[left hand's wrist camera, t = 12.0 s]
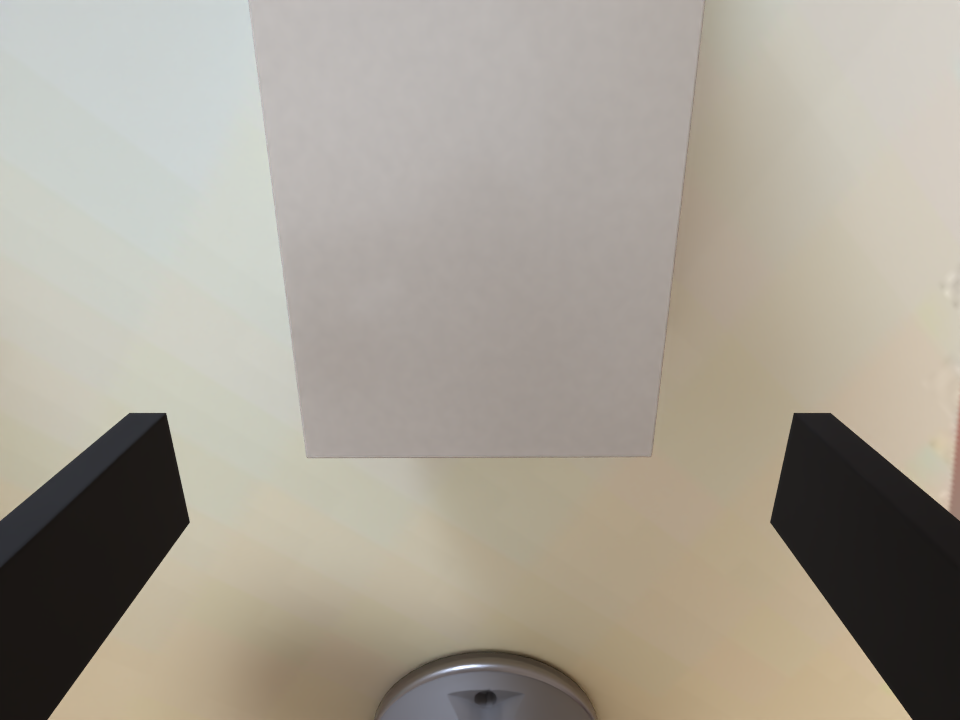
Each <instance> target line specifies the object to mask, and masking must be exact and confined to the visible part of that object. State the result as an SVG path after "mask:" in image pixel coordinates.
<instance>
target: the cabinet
mask: <svg viewBox="0 0 960 720" xmlns="http://www.w3.org/2000/svg"><path fill="white" fill-rule="evenodd" d="M248 2H249V10H250V18H251V26H252V33H253V41H254V49H255V57H256V65H257V73H258V81H259V88H260V96H261V104H262V112H263V120H264V128H265V135H266V143H267V151H268V159H269V167H270V175H271V183H272V190H273V198H274V206H275V214H276V222H277V230H278V237H279V245H280V253H281V261H282V269H283V277H284V285H285V292H286V300H287V308H288V316H289V324H290V332H291V339H292V347H293V355H294V363H295V371H296V379H297V387H298V394H299V402H300V410H301V418H302V426H303V434H304V441H305V449H306V456H307V458H494V457H651V456H652V449H653V441H654V432H655V424H656V415H657V407H658V398H659V390H660V381H661V373H662V364H663V356H664V347H665V339H666V330H667V322H668V313H669V305H670V296H671V288H672V279H673V271H674V262H675V254H676V245H677V237H678V228H679V220H680V211H681V203H682V194H683V185H684V177H685V168H686V160H687V151H688V143H689V134H690V126H691V117H692V109H693V100H694V92H695V83H696V75H697V66H698V58H699V49H700V41H701V32H702V24H703V15H704V7H705V0H248Z"/></svg>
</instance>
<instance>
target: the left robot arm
mask: <svg viewBox="0 0 960 720" xmlns="http://www.w3.org/2000/svg"><path fill="white" fill-rule="evenodd" d="M189 523H190V521H189V516H188V512H187V507H186V503H185V498H184V493H183V489H182V484H181V480H180V475H179V470H178V466H177V461H176V457H175V452H174V447H173V443H172V438H171V434H170V429H169V424H168V420H167V415H166V413H129V414H128V415H127V416H125V417H124V418H123V419H122V420H121V421H119V422H118V423H117V424H116V425H115V426H113V427H112V428H111V429H110V430H109V431H107V432H106V433H105V434H104V435H103V436H101V437H100V438H99V439H98V440H97V441H95V442H94V443H93V444H92V445H91V446H90V447H88V448H87V449H86V450H85V451H84V452H82V453H81V454H80V455H79V456H78V457H76V458H75V459H74V460H73V461H72V462H70V463H69V464H68V465H67V466H66V467H64V468H63V469H62V470H61V471H60V472H58V473H57V474H56V475H55V476H54V477H52V478H51V479H50V480H49V481H48V482H46V483H45V484H44V485H43V486H42V487H40V488H39V489H38V490H37V491H36V492H34V493H33V494H32V495H31V496H30V497H28V498H27V499H26V500H25V501H24V502H23V503H21V504H20V505H19V506H18V507H17V508H15V509H14V510H13V511H12V512H11V513H9V514H8V515H7V516H6V517H5V518H3V519H2V520H1V521H0V720H48V718H49V717H50V715H51V714H52V713H53V711H54V710H55V708H56V707H57V706H58V704H59V703H60V701H61V700H62V699H63V697H64V696H65V695H66V693H67V692H68V690H69V689H70V688H71V686H72V685H73V683H74V682H75V681H76V679H77V678H78V677H79V675H80V674H81V672H82V671H83V670H84V668H85V667H86V665H87V664H88V663H89V661H90V660H91V659H92V657H93V656H94V654H95V653H96V652H97V650H98V649H99V647H100V646H101V645H102V643H103V642H104V641H105V639H106V638H107V636H108V635H109V634H110V632H111V631H112V629H113V628H114V627H115V625H116V624H117V622H118V621H119V620H120V618H121V617H122V616H123V614H124V613H125V611H126V610H127V609H128V607H129V606H130V604H131V603H132V602H133V600H134V599H135V598H136V596H137V595H138V593H139V592H140V591H141V589H142V588H143V586H144V585H145V584H146V582H147V581H148V580H149V578H150V577H151V575H152V574H153V573H154V571H155V570H156V568H157V567H158V566H159V564H160V563H161V562H162V560H163V559H164V557H165V556H166V555H167V553H168V552H169V550H170V549H171V548H172V546H173V545H174V543H175V542H176V541H177V539H178V538H179V537H180V535H181V534H182V532H183V531H184V530H185V528H186V527H187V525H188V524H189ZM770 523H771V524H772V525H773V527H774V528H775V530H776V531H777V532H778V534H779V535H780V537H781V538H782V539H783V541H784V542H785V543H786V545H787V546H788V548H789V549H790V550H791V552H792V553H793V555H794V556H795V557H796V559H797V560H798V562H799V563H800V564H801V566H802V567H803V568H804V570H805V571H806V573H807V574H808V575H809V577H810V578H811V580H812V581H813V582H814V584H815V585H816V586H817V588H818V589H819V591H820V592H821V593H822V595H823V596H824V598H825V599H826V600H827V602H828V603H829V604H830V606H831V607H832V609H833V610H834V611H835V613H836V614H837V616H838V617H839V618H840V620H841V621H842V622H843V624H844V625H845V627H846V628H847V629H848V631H849V632H850V634H851V635H852V636H853V638H854V639H855V641H856V642H857V643H858V645H859V646H860V647H861V649H862V650H863V652H864V653H865V654H866V656H867V657H868V659H869V660H870V661H871V663H872V664H873V665H874V667H875V668H876V670H877V671H878V672H879V674H880V675H881V677H882V678H883V679H884V681H885V682H886V683H887V685H888V686H889V688H890V689H891V690H892V692H893V693H894V695H895V696H896V697H897V699H898V700H899V701H900V703H901V704H902V706H903V707H904V708H905V710H906V711H907V713H908V714H909V715H910V717H911V718H912V720H960V521H959V520H958V519H957V518H955V517H954V516H953V515H952V514H951V513H949V512H948V511H947V510H946V509H945V508H943V507H942V506H941V505H940V504H939V503H937V502H936V501H935V500H934V499H933V498H932V497H930V496H929V495H928V494H927V493H926V492H924V491H923V490H922V489H921V488H920V487H918V486H917V485H916V484H915V483H914V482H912V481H911V480H910V479H909V478H908V477H906V476H905V475H904V474H903V473H902V472H900V471H899V470H898V469H897V468H896V467H894V466H893V465H892V464H891V463H890V462H888V461H887V460H886V459H885V458H884V457H882V456H881V455H880V454H879V453H878V452H876V451H875V450H874V449H873V448H872V447H870V446H869V445H868V444H867V443H866V442H865V441H863V440H862V439H861V438H860V437H859V436H857V435H856V434H855V433H854V432H853V431H851V430H850V429H849V428H848V427H847V426H845V425H844V424H843V423H842V422H841V421H839V420H838V419H837V418H836V417H835V416H833V415H832V414H831V413H794V415H793V420H792V424H791V429H790V434H789V438H788V443H787V447H786V452H785V457H784V461H783V466H782V470H781V475H780V480H779V484H778V489H777V493H776V498H775V503H774V507H773V512H772V516H771V521H770ZM374 720H597V717H596V713H595V711H594V708H593V706H592V704H591V702H590V700H589V699H588V697H587V696H586V694H585V693H584V692H583V691H582V689H581V688H580V687H579V686H578V685H577V684H576V683H575V682H573V681H572V680H571V679H570V678H569V677H567V676H566V675H564V674H563V673H561V672H560V671H558V670H556V669H554V668H553V667H551V666H548V665H546V664H544V663H542V662H539V661H536V660H533V659H530V658H526V657H522V656H518V655H512V654H505V653H493V652H479V653H467V654H460V655H454V656H450V657H446V658H442V659H439V660H436V661H433V662H430V663H428V664H426V665H424V666H421V667H419V668H417V669H416V670H414V671H412V672H410V673H409V674H408V675H406V676H405V677H403V678H402V679H401V680H400V681H398V682H397V683H396V684H395V685H394V686H393V687H392V688H391V689H390V690H389V691H388V693H387V694H386V695H385V697H384V698H383V700H382V701H381V703H380V705H379V707H378V709H377V712H376V715H375V719H374Z"/></svg>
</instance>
